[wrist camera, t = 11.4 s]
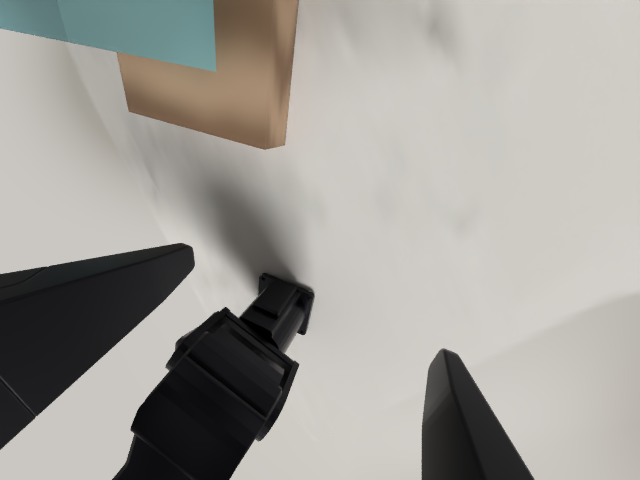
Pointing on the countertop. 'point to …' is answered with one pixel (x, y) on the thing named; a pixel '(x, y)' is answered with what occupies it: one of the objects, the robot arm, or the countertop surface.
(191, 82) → the wooden board
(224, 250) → the countertop surface
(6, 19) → the teal block
